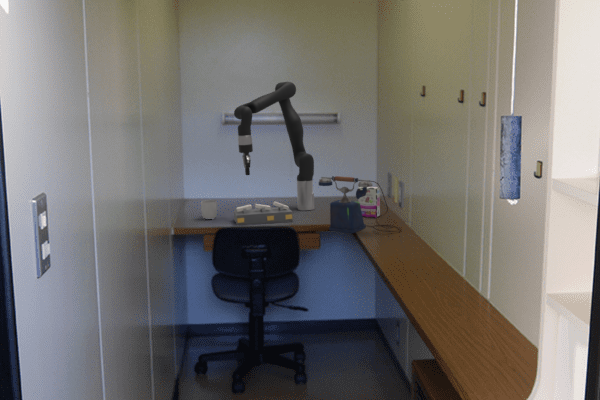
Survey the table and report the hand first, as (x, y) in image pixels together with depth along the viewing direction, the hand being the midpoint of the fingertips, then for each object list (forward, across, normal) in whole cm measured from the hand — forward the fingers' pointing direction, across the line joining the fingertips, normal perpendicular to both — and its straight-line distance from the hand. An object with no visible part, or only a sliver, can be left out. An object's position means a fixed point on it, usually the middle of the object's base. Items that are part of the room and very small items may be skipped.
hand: (247, 174), depth 349 cm
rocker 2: (+18, -9, -16) cm, 25 cm away
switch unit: (+25, -8, -5) cm, 27 cm away
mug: (+24, +9, +22) cm, 34 cm away
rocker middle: (+17, -8, -6) cm, 20 cm away
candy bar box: (+27, -18, -63) cm, 71 cm away
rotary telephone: (+26, -46, -48) cm, 72 cm away
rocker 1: (+17, -8, +4) cm, 19 cm away
